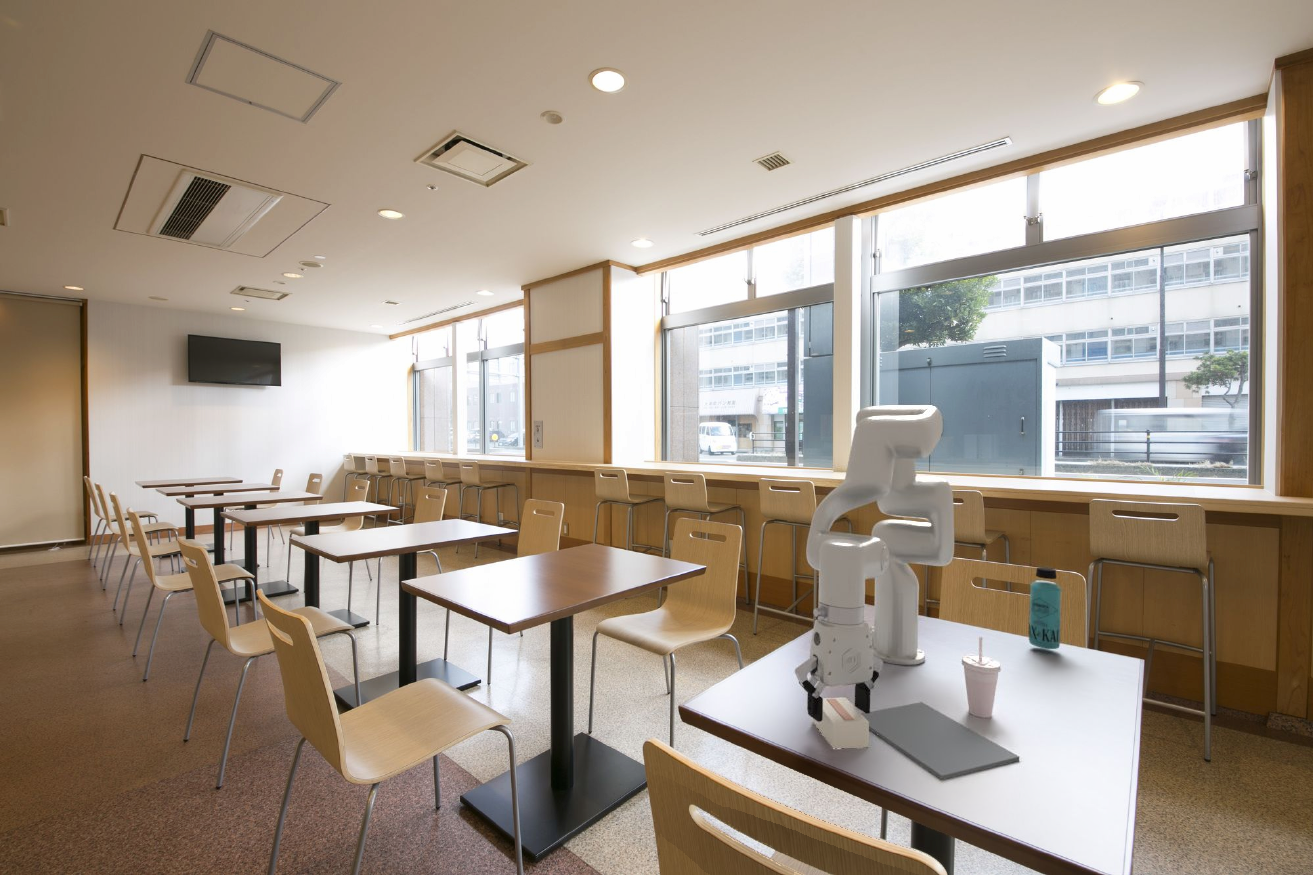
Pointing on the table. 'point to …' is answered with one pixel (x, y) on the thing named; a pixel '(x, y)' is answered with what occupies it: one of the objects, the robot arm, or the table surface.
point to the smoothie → (980, 682)
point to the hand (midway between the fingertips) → (838, 713)
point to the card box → (843, 724)
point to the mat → (937, 740)
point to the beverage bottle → (1045, 611)
